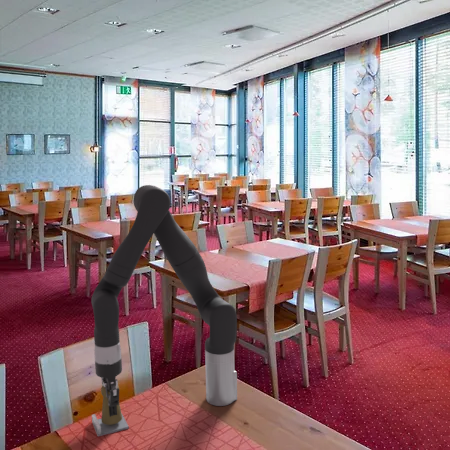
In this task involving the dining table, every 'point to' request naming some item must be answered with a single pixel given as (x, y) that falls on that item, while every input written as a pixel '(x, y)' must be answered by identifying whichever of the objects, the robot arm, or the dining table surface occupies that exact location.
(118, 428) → the slate shelf board
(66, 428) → the dining table surface
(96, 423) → the rail
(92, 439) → the dining table surface
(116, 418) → the cork
